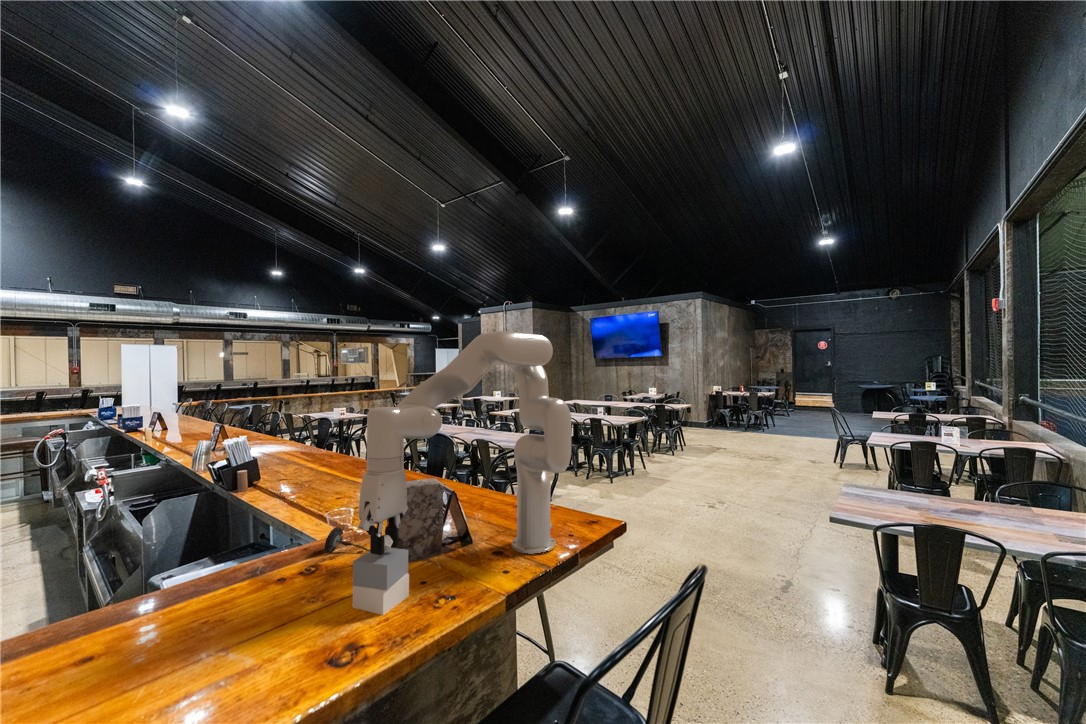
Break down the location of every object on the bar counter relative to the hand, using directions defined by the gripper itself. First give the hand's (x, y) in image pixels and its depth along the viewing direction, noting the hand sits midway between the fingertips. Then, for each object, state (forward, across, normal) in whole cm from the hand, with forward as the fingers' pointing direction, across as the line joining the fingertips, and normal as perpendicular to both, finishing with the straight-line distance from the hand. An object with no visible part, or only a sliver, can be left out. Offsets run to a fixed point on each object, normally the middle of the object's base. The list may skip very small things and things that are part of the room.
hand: (384, 549), depth 91 cm
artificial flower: (+12, -20, -22) cm, 32 cm away
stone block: (+11, -21, -8) cm, 25 cm away
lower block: (+11, 0, 0) cm, 11 cm away
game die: (0, 0, 0) cm, 0 cm away
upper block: (+6, 0, -1) cm, 6 cm away
